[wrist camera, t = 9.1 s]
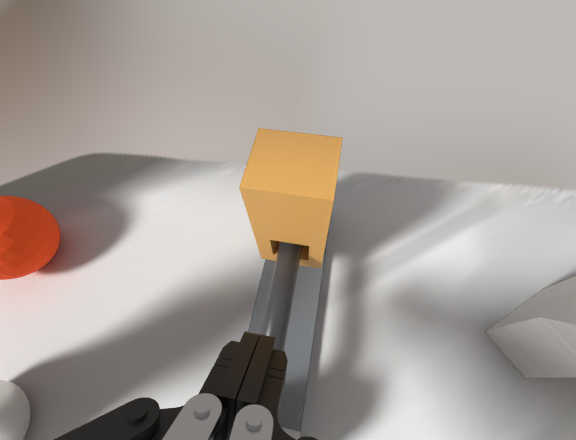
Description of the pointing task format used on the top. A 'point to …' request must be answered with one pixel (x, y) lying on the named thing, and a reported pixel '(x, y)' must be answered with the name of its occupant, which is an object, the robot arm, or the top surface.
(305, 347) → the gray horizontal rod stand
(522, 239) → the top surface
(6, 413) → the plastic bottle
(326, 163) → the sleeve
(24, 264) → the clementine
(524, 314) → the milk carton
